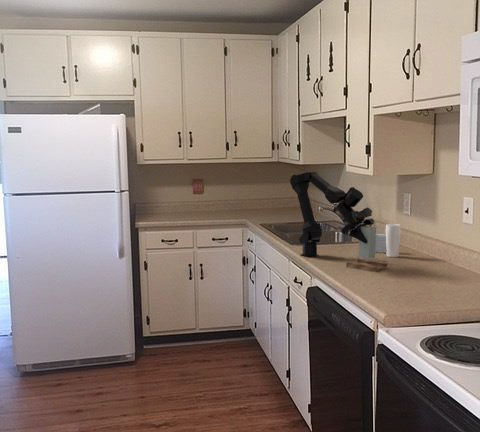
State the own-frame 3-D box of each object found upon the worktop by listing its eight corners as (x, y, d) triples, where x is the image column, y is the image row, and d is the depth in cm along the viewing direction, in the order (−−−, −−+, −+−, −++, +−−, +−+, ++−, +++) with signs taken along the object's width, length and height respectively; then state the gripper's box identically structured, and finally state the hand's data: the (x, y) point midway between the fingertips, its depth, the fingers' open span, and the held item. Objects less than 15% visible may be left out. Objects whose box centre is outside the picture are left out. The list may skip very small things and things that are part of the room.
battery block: (358, 257, 231) (359, 225, 230) (364, 255, 235) (366, 223, 233) (368, 259, 228) (370, 226, 226) (374, 257, 231) (376, 225, 230)
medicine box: (390, 252, 265) (391, 234, 264) (388, 253, 261) (389, 235, 260) (374, 250, 269) (374, 233, 267) (372, 252, 265) (372, 234, 263)
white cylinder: (388, 254, 259) (389, 223, 257) (402, 256, 255) (403, 224, 253) (382, 256, 254) (383, 224, 252) (396, 258, 250) (397, 226, 248)
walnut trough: (346, 266, 233) (346, 262, 233) (358, 263, 240) (358, 258, 240) (375, 272, 224) (375, 267, 223) (387, 267, 231) (387, 263, 230)
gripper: (348, 203, 224) (371, 232, 218) (371, 200, 238) (393, 227, 232) (331, 220, 231) (353, 249, 225) (355, 216, 244) (376, 243, 238)
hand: (370, 242), depth 230 cm, fingers closed on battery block, 5 cm apart
